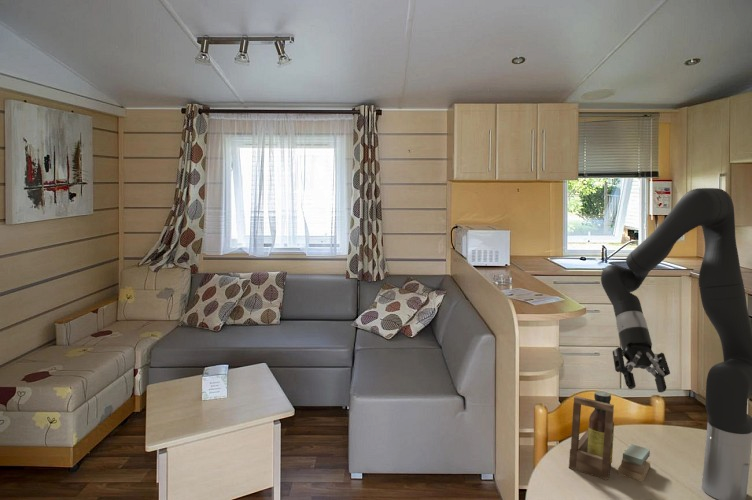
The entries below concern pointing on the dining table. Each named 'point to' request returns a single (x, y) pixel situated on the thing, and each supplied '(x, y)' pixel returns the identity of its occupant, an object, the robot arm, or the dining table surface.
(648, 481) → the dining table surface
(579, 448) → the walnut rack
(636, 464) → the offcut stack
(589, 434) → the sauce bottle
